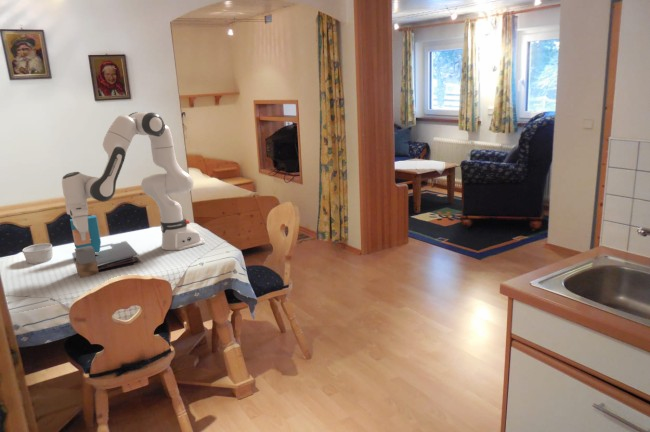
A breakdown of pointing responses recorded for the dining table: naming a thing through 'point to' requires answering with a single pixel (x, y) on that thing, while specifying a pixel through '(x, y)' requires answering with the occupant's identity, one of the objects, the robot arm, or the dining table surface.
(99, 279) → the dining table surface
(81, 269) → the tower base
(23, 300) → the dining table surface
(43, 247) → the ramekin
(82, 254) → the tower top
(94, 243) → the block
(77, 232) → the terracotta cube
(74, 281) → the dining table surface
